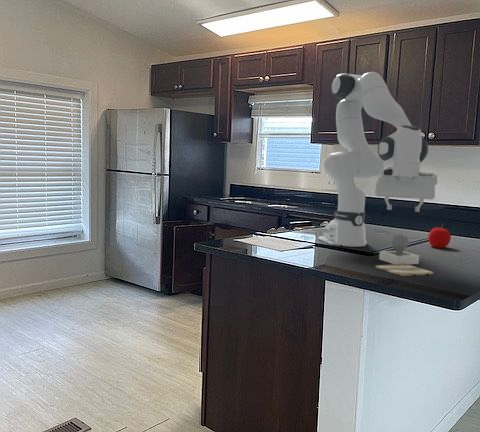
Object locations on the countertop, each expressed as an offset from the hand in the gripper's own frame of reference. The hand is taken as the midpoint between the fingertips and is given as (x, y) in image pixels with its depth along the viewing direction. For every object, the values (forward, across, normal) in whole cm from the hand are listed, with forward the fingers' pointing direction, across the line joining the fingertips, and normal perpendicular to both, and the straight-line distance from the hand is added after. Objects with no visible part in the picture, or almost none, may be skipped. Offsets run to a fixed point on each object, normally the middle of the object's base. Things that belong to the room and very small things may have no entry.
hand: (403, 210), depth 171 cm
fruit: (+19, -14, -43) cm, 49 cm away
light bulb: (+19, 0, 0) cm, 19 cm away
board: (+19, -2, +14) cm, 24 cm away
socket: (+19, 0, 0) cm, 19 cm away
